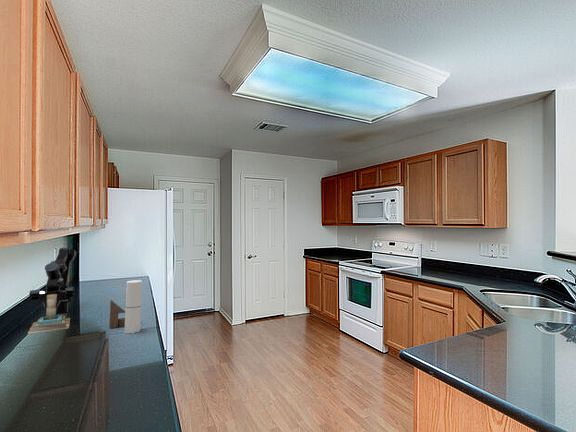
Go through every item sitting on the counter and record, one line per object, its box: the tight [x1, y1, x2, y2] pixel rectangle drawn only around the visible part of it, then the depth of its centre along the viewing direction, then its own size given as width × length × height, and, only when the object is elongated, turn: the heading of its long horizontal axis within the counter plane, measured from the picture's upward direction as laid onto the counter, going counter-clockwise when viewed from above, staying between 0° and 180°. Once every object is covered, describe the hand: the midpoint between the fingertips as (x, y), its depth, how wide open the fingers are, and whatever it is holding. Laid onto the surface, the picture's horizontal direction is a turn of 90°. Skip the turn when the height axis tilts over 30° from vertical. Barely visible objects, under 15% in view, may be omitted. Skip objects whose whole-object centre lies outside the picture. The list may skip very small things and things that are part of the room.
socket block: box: [38, 314, 63, 325], centre depth 159 cm, size 9×9×4 cm
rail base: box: [27, 315, 71, 335], centre depth 160 cm, size 20×16×3 cm
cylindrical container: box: [124, 279, 143, 334], centre depth 156 cm, size 7×7×25 cm
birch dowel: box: [45, 294, 57, 320], centre depth 159 cm, size 4×4×13 cm
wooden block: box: [108, 299, 126, 329], centre depth 164 cm, size 4×11×18 cm, turn 126°
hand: (51, 307), depth 158 cm, fingers closed on birch dowel, 4 cm apart
